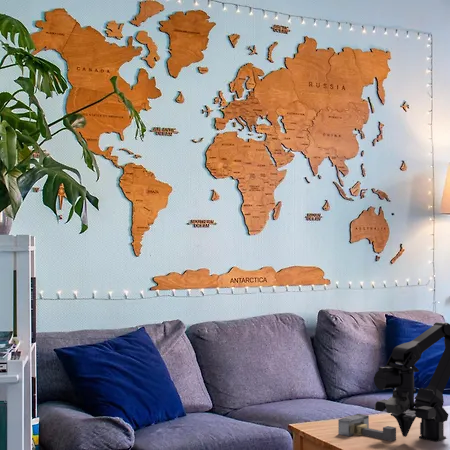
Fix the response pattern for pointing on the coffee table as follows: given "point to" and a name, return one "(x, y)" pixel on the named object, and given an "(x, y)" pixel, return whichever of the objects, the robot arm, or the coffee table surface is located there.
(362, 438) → the coffee table surface
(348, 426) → the curved dark grey plate
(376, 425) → the coffee table surface
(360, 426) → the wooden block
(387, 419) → the coffee table surface
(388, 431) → the stepped grey block
